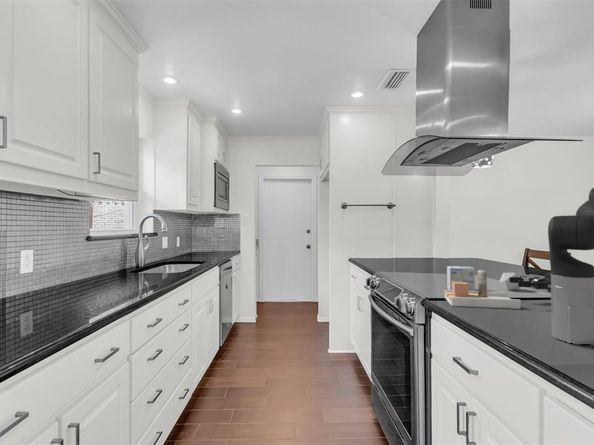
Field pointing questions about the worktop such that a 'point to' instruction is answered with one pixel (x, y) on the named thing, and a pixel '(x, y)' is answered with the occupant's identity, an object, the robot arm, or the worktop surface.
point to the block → (460, 289)
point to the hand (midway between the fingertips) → (513, 281)
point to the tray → (486, 301)
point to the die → (505, 281)
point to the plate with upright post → (481, 287)
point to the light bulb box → (461, 276)
